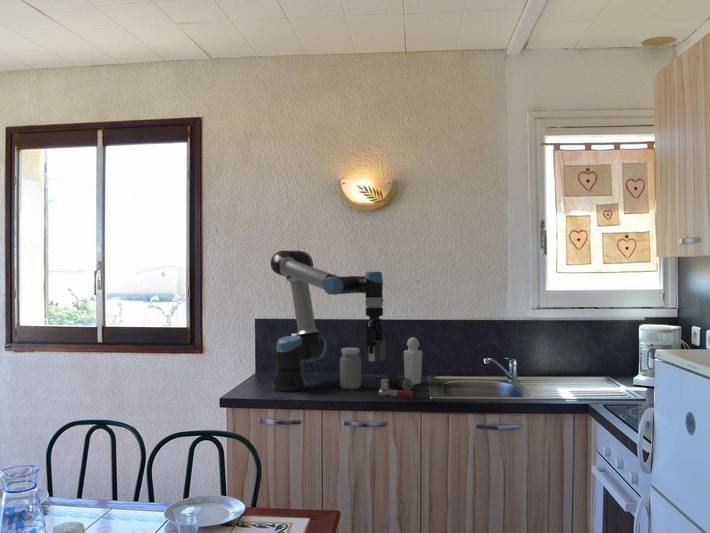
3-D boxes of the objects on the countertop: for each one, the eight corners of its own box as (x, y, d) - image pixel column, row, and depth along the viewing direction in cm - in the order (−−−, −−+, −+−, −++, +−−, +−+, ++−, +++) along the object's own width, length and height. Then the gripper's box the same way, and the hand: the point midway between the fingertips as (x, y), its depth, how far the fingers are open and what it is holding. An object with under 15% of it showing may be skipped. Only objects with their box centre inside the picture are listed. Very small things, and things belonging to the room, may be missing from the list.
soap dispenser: (412, 380, 265) (412, 336, 265) (422, 383, 260) (422, 337, 260) (403, 382, 260) (403, 337, 260) (413, 385, 256) (413, 338, 255)
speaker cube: (364, 361, 234) (364, 341, 234) (370, 358, 240) (370, 339, 240) (379, 361, 231) (379, 342, 231) (385, 359, 237) (384, 340, 238)
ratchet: (376, 395, 236) (376, 380, 236) (380, 392, 242) (380, 377, 242) (409, 398, 231) (409, 383, 231) (413, 395, 237) (413, 380, 237)
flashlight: (384, 384, 258) (384, 373, 258) (393, 383, 260) (393, 372, 260) (403, 391, 244) (403, 379, 244) (412, 389, 247) (412, 378, 247)
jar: (339, 389, 246) (339, 350, 246) (340, 385, 256) (340, 347, 256) (361, 389, 246) (361, 350, 246) (360, 385, 256) (360, 347, 256)
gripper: (374, 308, 225) (375, 363, 225) (389, 305, 244) (390, 356, 243) (357, 308, 228) (358, 362, 228) (374, 305, 246) (374, 355, 246)
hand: (375, 359), depth 236 cm, fingers closed on speaker cube, 7 cm apart
